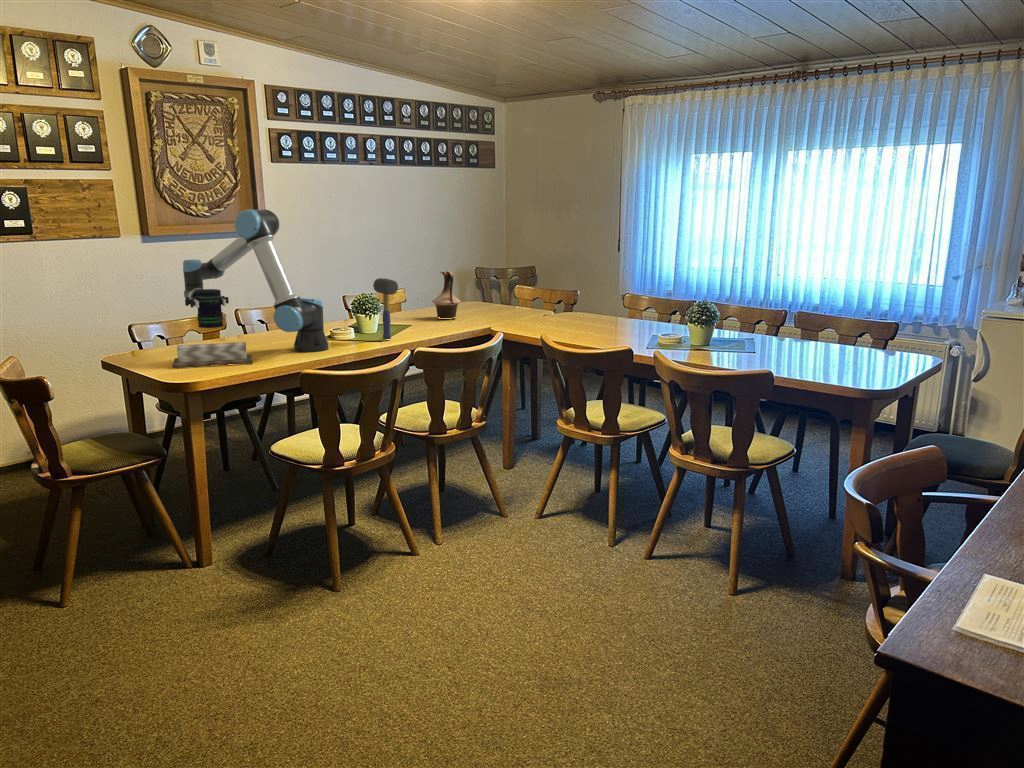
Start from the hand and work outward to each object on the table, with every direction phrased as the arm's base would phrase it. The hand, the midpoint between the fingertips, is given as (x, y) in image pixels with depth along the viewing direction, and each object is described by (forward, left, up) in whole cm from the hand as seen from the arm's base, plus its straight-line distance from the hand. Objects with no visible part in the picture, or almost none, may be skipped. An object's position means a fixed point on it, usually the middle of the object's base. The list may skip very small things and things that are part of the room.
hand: (211, 303), depth 299 cm
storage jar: (+3, -3, -10) cm, 11 cm away
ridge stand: (-2, +5, -24) cm, 24 cm away
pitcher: (-65, -135, -24) cm, 152 cm away
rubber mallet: (-54, -61, -24) cm, 85 cm away
